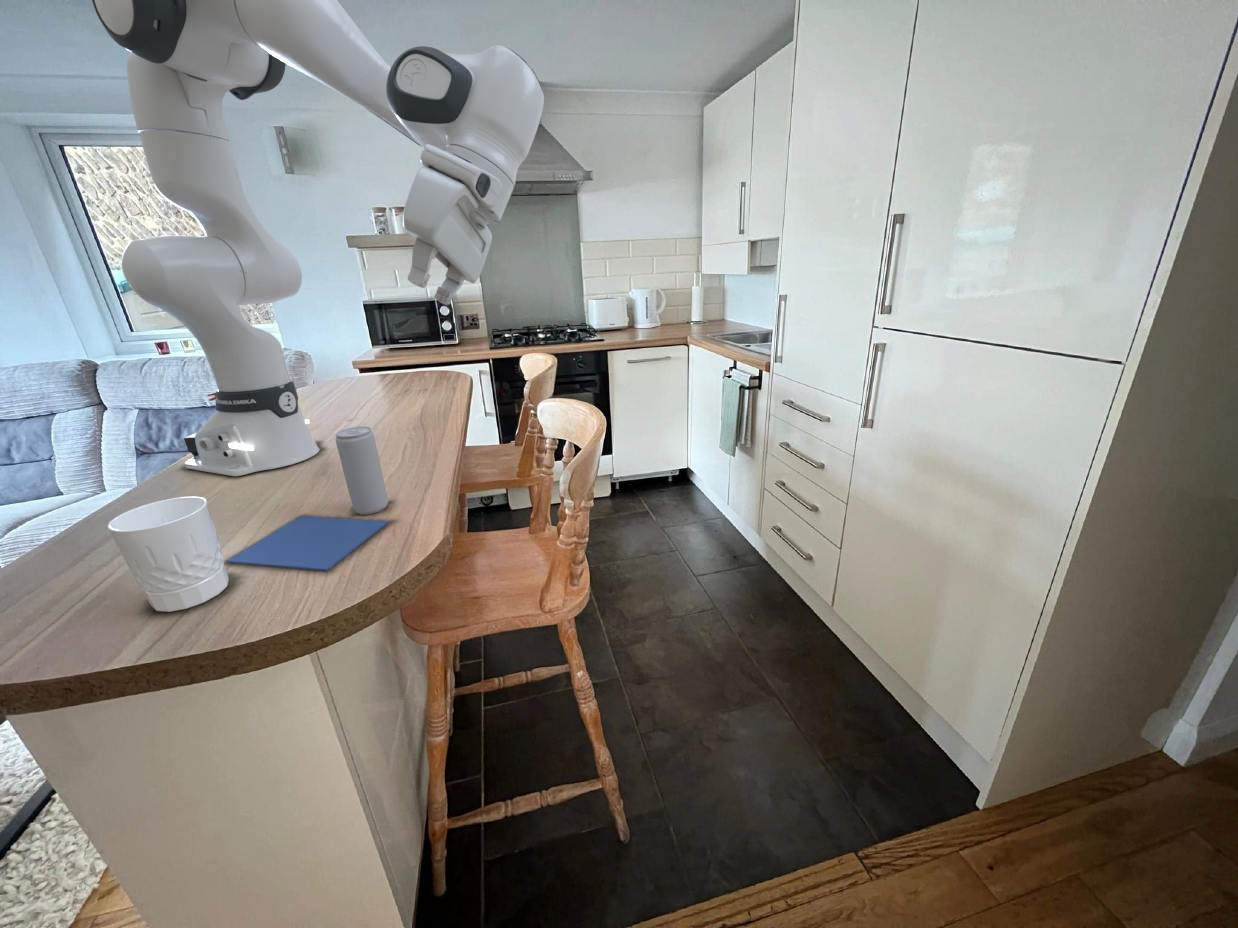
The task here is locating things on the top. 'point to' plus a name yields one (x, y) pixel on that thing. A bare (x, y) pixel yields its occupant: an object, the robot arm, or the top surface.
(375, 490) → the beverage can
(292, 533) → the blue cloth
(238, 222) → the robot arm
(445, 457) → the top surface
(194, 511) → the white cup
